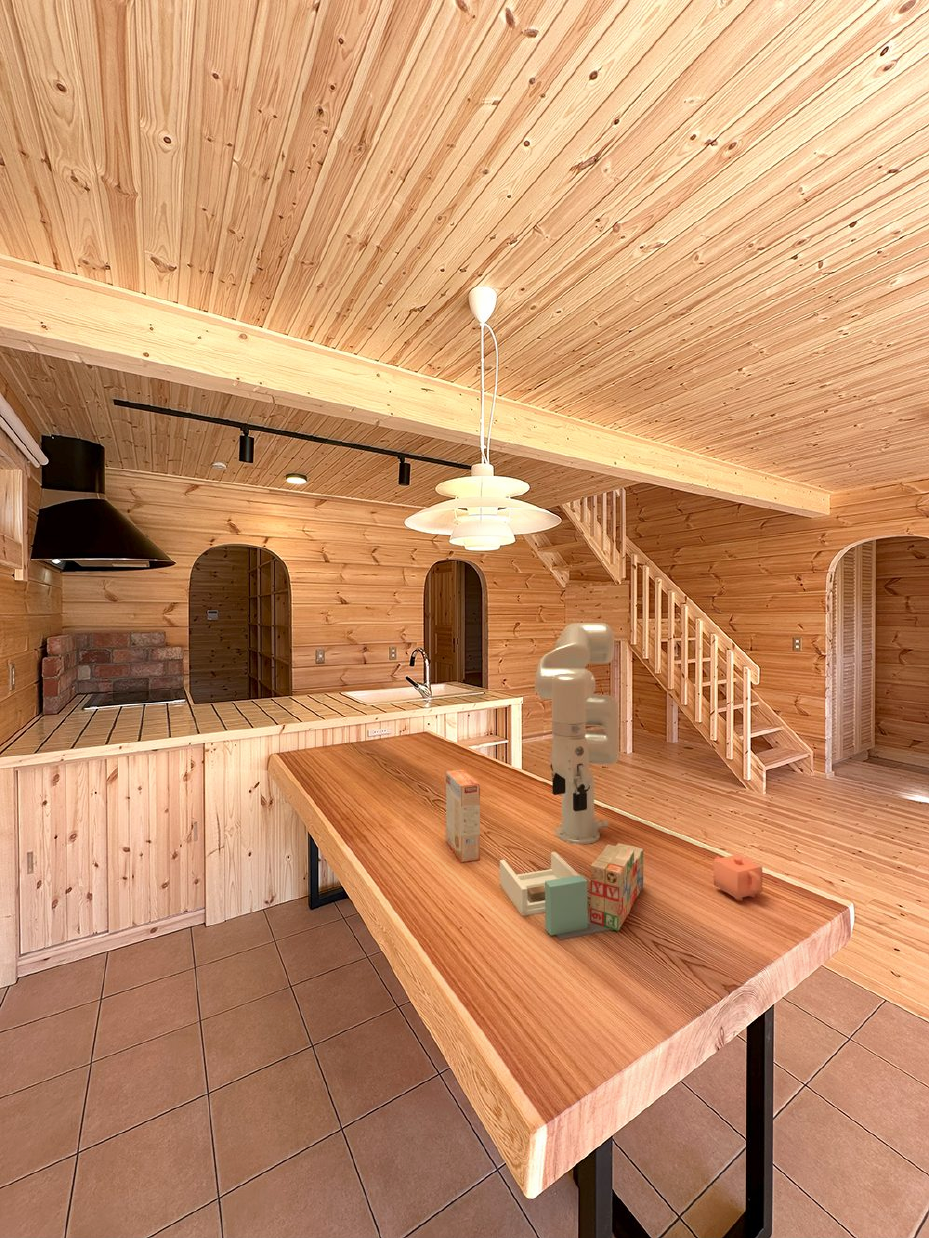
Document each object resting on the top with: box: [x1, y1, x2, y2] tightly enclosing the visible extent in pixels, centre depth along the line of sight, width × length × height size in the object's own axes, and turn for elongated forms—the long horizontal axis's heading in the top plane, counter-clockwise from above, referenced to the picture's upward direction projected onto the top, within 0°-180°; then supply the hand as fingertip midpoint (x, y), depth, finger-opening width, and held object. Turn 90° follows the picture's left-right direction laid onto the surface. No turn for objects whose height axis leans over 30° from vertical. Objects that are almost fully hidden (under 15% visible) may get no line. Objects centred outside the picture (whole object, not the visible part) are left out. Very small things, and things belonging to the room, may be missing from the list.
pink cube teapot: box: [713, 854, 763, 902], centre depth 123 cm, size 8×12×8 cm, turn 21°
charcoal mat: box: [556, 913, 614, 941], centre depth 110 cm, size 13×6×1 cm, turn 107°
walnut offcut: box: [527, 886, 545, 903], centre depth 118 cm, size 4×2×2 cm, turn 107°
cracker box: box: [445, 769, 481, 863], centre depth 145 cm, size 14×6×21 cm, turn 18°
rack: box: [499, 851, 580, 917], centre depth 122 cm, size 15×14×6 cm
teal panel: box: [544, 874, 589, 937], centre depth 108 cm, size 10×2×8 cm
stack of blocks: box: [589, 842, 644, 932], centre depth 118 cm, size 21×6×12 cm, turn 148°
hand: (569, 801), depth 119 cm, fingers open, 9 cm apart
